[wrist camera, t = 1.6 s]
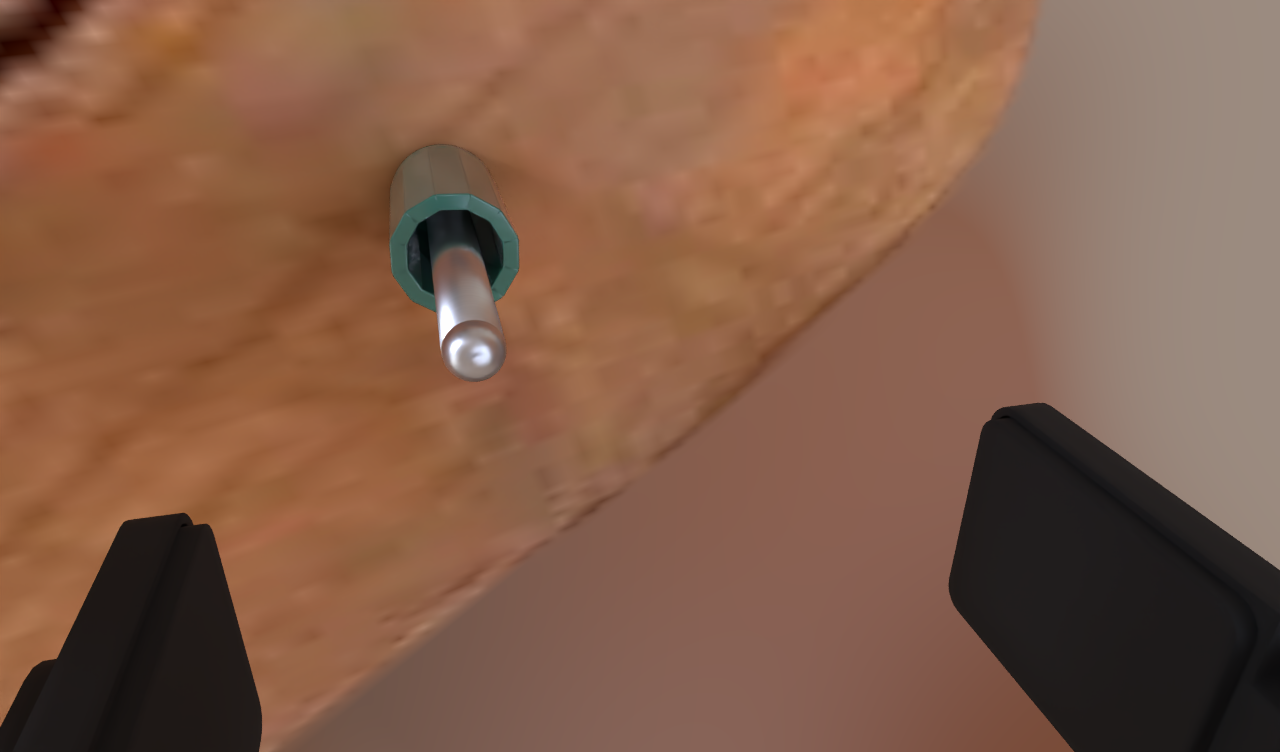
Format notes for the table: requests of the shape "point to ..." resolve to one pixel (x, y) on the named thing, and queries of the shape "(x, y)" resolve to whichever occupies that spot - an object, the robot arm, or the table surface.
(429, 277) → the pen holder
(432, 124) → the table surface
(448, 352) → the silver metal rod
